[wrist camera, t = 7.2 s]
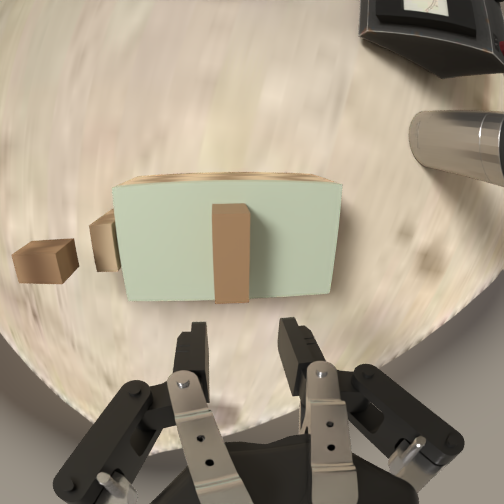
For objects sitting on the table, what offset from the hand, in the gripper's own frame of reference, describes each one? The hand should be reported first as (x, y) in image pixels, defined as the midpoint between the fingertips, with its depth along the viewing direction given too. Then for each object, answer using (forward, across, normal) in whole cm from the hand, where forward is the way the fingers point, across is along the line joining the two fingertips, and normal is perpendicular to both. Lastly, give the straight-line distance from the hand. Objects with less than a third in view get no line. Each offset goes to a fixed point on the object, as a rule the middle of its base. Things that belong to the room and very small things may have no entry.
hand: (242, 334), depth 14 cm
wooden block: (+13, +19, 0) cm, 23 cm away
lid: (+15, 0, 0) cm, 15 cm away
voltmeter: (+24, -26, -34) cm, 48 cm away
